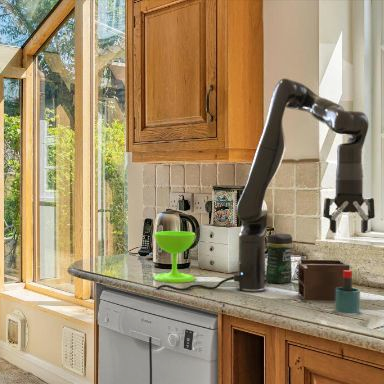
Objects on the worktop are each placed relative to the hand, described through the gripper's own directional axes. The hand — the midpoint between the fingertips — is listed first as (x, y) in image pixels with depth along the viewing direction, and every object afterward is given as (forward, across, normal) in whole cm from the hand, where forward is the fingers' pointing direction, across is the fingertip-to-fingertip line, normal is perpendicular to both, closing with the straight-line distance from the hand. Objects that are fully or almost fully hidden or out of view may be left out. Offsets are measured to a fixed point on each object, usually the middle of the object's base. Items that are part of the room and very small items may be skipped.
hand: (348, 232), depth 177 cm
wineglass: (+24, +53, -50) cm, 77 cm away
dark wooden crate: (+24, +3, -19) cm, 31 cm away
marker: (+23, 0, 0) cm, 23 cm away
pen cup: (+24, 0, 0) cm, 24 cm away
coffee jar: (+24, +13, -48) cm, 55 cm away
